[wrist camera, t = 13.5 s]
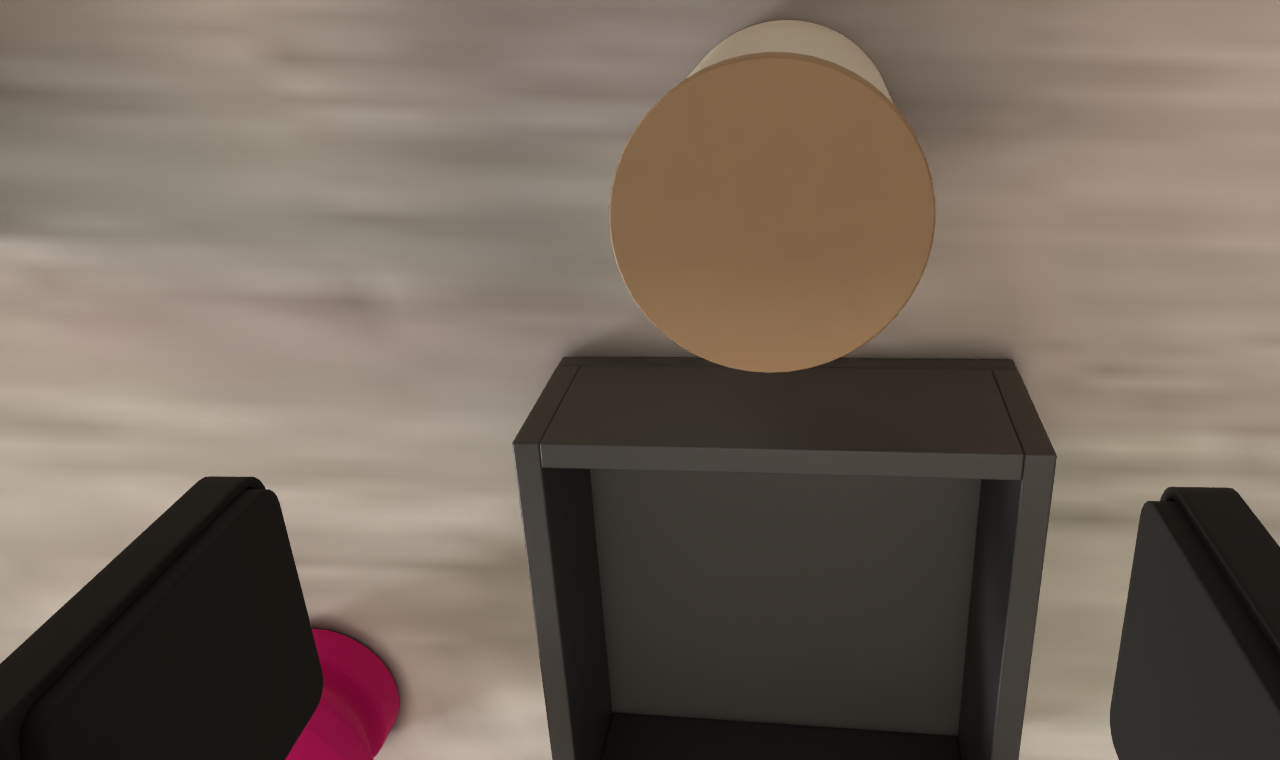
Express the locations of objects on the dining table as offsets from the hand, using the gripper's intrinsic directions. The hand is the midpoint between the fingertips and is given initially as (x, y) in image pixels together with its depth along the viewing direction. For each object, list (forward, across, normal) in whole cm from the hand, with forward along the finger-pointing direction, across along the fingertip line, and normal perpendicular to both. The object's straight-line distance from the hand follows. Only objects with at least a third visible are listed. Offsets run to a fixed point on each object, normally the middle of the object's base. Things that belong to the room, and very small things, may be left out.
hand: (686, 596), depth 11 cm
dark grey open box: (+21, 0, +14) cm, 25 cm away
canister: (+21, -1, -1) cm, 21 cm away
